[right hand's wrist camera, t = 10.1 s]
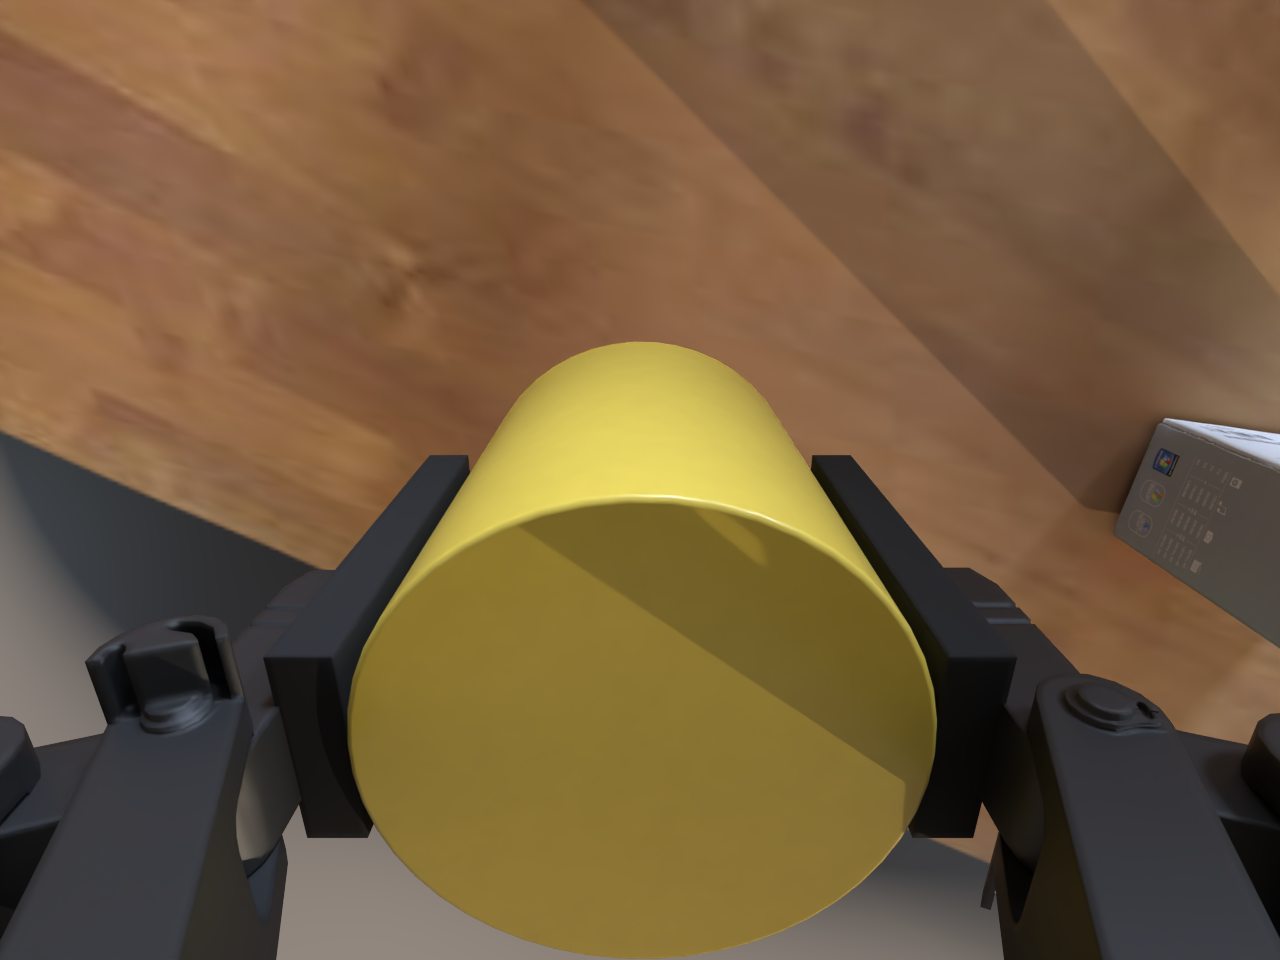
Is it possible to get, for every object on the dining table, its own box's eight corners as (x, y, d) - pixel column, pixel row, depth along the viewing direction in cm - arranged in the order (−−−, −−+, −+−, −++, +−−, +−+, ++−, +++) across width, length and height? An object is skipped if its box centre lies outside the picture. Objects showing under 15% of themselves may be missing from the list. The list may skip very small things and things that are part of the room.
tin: (574, 661, 17) (523, 1015, 10) (430, 422, 15) (217, 646, 7) (835, 558, 16) (1005, 868, 9) (724, 284, 14) (823, 383, 6)
